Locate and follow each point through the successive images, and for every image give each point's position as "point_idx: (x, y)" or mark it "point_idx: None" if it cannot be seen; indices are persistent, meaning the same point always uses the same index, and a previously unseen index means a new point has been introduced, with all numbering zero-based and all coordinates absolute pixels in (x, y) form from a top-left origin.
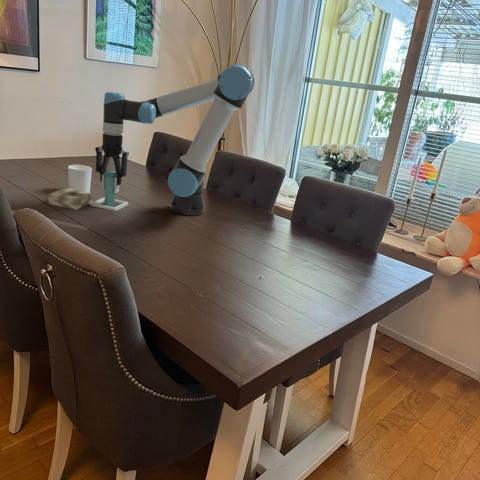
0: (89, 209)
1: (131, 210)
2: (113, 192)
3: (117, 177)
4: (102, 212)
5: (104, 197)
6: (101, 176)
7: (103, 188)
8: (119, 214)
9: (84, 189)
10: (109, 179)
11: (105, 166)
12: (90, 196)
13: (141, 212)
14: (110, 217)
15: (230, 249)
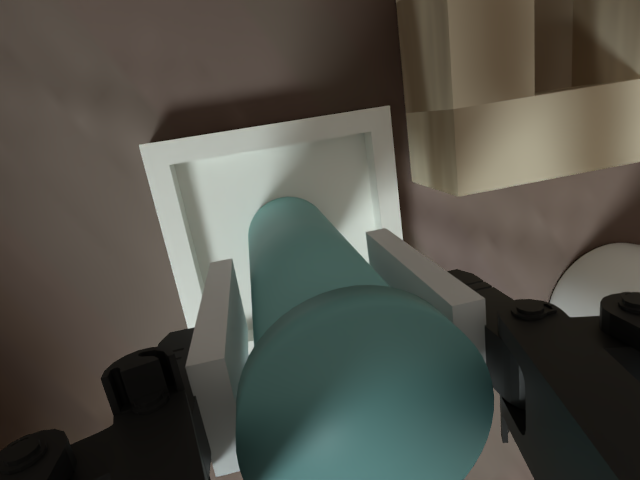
0: (357, 68)
1: (119, 303)
2: (251, 271)
3: (133, 358)
4: (236, 80)
5: None
6: (488, 302)
7: (373, 242)
8: (104, 144)
9: (596, 305)
10: (305, 287)
11: (571, 471)
12: (444, 155)
13: (27, 325)
14: (91, 10)
15: None
